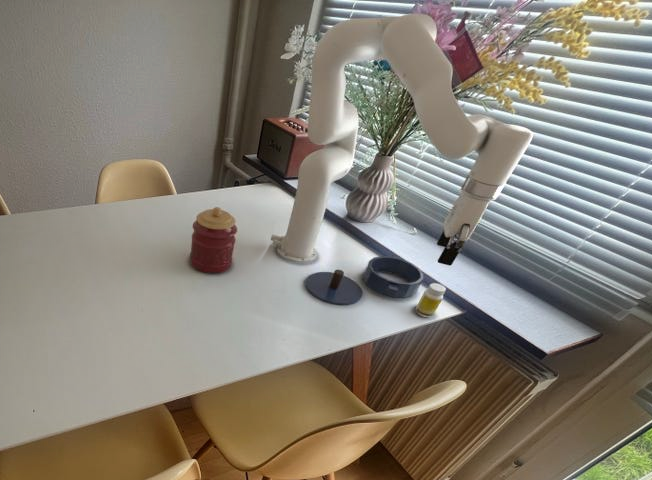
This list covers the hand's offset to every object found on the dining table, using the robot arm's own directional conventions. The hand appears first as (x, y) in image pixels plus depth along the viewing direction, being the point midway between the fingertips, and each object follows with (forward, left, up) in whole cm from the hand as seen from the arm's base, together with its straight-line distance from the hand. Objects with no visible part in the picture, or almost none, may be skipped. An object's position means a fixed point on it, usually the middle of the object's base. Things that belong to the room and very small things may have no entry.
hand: (443, 254), depth 108 cm
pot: (-7, +10, -17) cm, 21 cm away
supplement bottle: (+3, 0, -18) cm, 18 cm away
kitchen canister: (-59, -4, -18) cm, 62 cm away
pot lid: (-22, -1, -17) cm, 28 cm away
